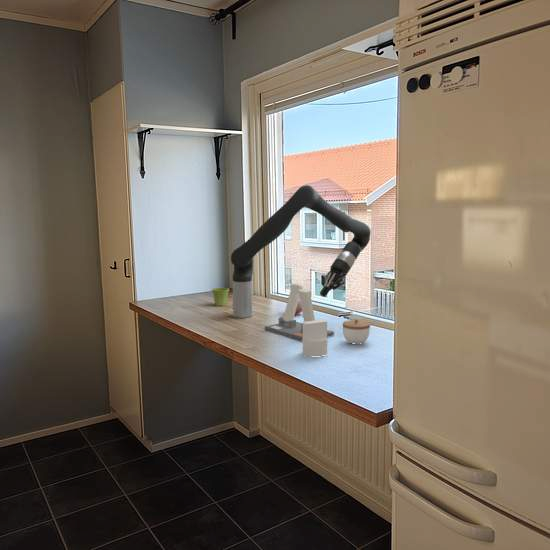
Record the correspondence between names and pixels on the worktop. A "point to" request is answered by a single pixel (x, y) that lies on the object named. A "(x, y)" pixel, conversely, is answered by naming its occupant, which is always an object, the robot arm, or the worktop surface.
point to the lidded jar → (356, 331)
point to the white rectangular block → (315, 338)
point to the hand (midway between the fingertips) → (322, 295)
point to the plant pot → (220, 296)
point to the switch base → (290, 329)
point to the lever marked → (306, 305)
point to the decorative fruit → (298, 307)
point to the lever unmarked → (292, 303)
